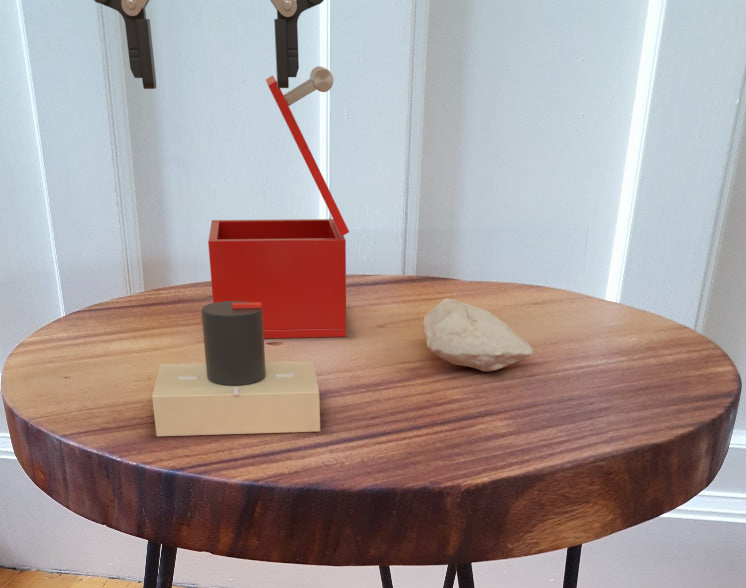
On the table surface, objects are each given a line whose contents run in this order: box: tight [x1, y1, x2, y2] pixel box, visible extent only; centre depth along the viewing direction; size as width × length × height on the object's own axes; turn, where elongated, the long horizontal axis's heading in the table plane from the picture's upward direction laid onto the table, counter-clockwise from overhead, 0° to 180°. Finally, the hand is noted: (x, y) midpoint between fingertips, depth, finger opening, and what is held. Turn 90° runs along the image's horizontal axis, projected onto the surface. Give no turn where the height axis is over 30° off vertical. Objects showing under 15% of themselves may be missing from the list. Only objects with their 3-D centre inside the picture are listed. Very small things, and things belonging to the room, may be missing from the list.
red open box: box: [207, 218, 347, 339], centre depth 95 cm, size 13×12×9 cm
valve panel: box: [151, 360, 321, 437], centre depth 73 cm, size 12×9×3 cm
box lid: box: [265, 65, 350, 236], centre depth 89 cm, size 13×12×5 cm
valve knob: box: [200, 301, 266, 385], centre depth 71 cm, size 4×4×5 cm
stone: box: [423, 297, 534, 372], centre depth 86 cm, size 9×13×5 cm
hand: (216, 88), depth 62 cm, fingers open, 8 cm apart
